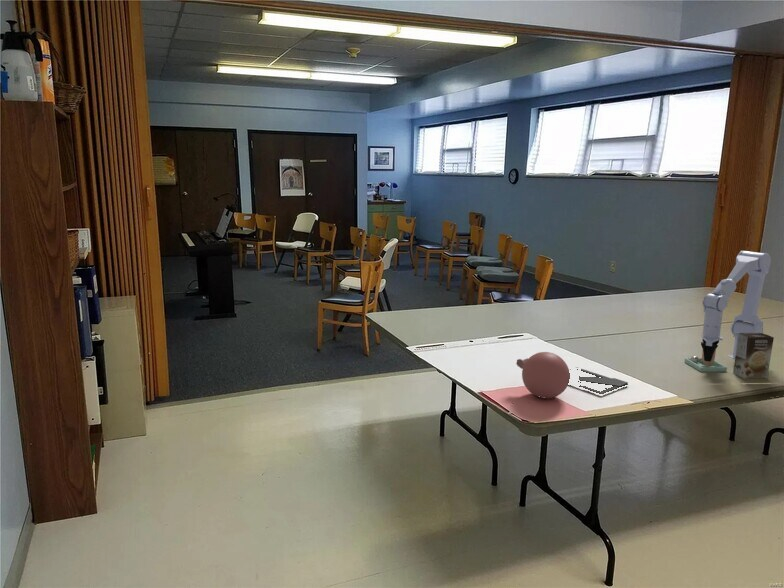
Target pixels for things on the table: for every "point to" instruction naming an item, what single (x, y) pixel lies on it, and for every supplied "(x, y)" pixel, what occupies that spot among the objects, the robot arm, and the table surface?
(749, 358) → the coffee box
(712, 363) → the shaker
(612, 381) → the picture frame
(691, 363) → the tray
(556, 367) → the balloon
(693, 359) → the ball
